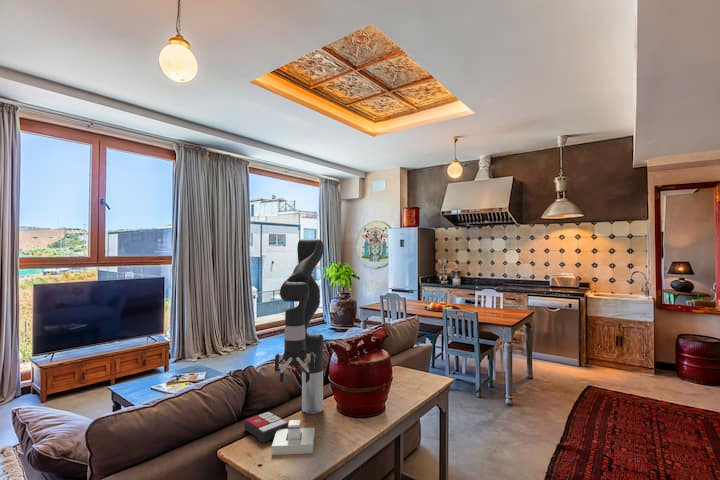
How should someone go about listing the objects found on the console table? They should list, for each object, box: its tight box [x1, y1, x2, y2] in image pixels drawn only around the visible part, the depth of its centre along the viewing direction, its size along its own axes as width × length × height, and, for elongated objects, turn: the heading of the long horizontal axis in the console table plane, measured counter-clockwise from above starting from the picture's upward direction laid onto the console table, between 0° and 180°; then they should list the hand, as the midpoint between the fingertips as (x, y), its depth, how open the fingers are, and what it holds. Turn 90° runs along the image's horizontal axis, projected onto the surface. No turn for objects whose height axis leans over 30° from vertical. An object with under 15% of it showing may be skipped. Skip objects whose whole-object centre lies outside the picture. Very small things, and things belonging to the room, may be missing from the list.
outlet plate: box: [271, 427, 316, 456], centre depth 130 cm, size 12×14×3 cm
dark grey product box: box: [243, 411, 289, 444], centre depth 140 cm, size 11×4×15 cm
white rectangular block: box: [288, 419, 302, 441], centre depth 130 cm, size 4×4×8 cm
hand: (294, 382), depth 131 cm, fingers open, 8 cm apart
